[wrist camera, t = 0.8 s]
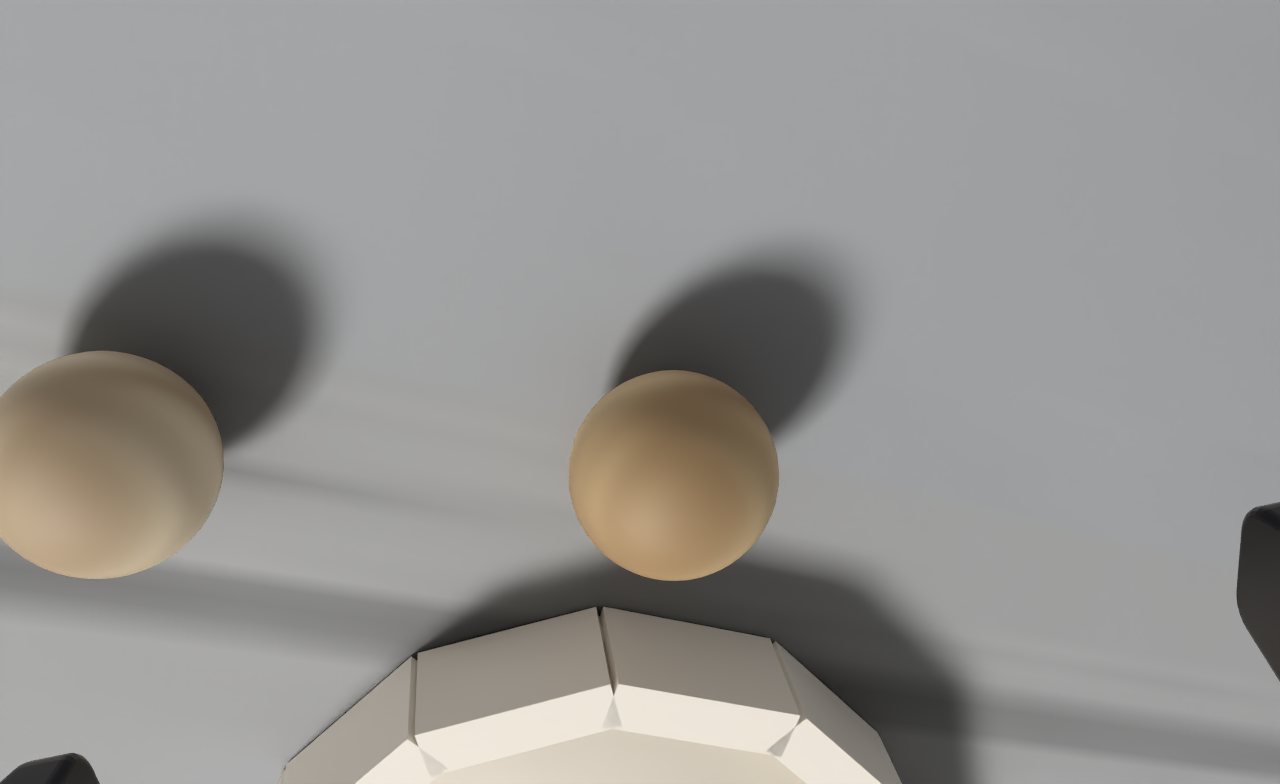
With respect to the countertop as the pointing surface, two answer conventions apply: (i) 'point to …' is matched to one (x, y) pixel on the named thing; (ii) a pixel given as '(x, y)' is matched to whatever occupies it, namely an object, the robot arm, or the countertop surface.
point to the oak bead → (673, 475)
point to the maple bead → (105, 464)
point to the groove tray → (599, 713)
